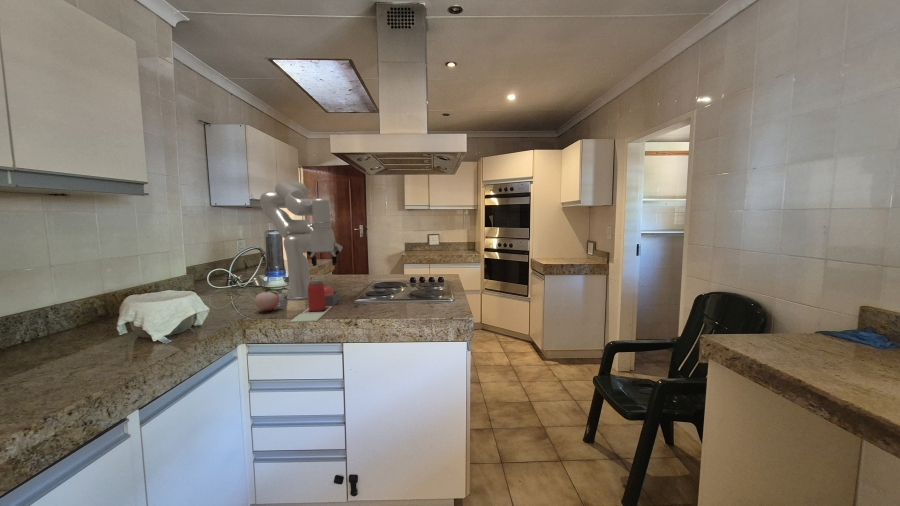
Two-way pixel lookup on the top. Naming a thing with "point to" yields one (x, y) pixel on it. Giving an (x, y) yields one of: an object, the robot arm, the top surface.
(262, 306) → the decorative fruit
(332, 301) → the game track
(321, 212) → the robot arm
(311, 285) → the beer can
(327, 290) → the dome
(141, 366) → the top surface
